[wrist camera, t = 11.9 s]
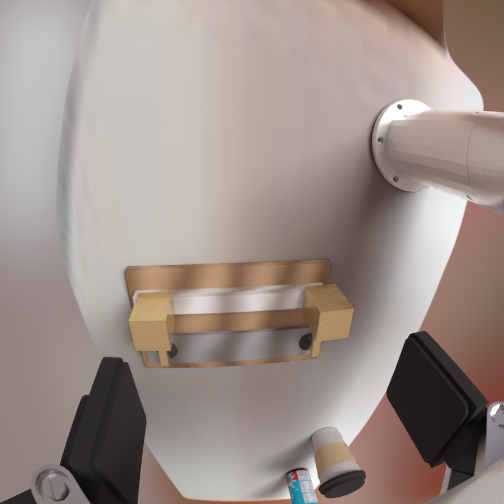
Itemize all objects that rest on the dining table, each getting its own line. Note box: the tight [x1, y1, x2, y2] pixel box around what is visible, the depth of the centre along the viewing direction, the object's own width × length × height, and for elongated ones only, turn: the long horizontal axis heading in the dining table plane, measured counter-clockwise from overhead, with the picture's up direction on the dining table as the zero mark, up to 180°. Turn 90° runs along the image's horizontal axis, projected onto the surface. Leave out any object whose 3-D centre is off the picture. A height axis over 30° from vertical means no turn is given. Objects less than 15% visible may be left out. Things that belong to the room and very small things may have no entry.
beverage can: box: [286, 468, 318, 504], centre depth 55 cm, size 6×6×15 cm
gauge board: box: [125, 259, 331, 368], centre depth 40 cm, size 26×16×3 cm, turn 89°
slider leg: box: [128, 292, 175, 366], centre depth 34 cm, size 4×10×7 cm, turn 179°
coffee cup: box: [312, 427, 366, 498], centre depth 49 cm, size 9×9×15 cm
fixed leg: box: [302, 284, 354, 357], centre depth 37 cm, size 4×10×7 cm, turn 179°
